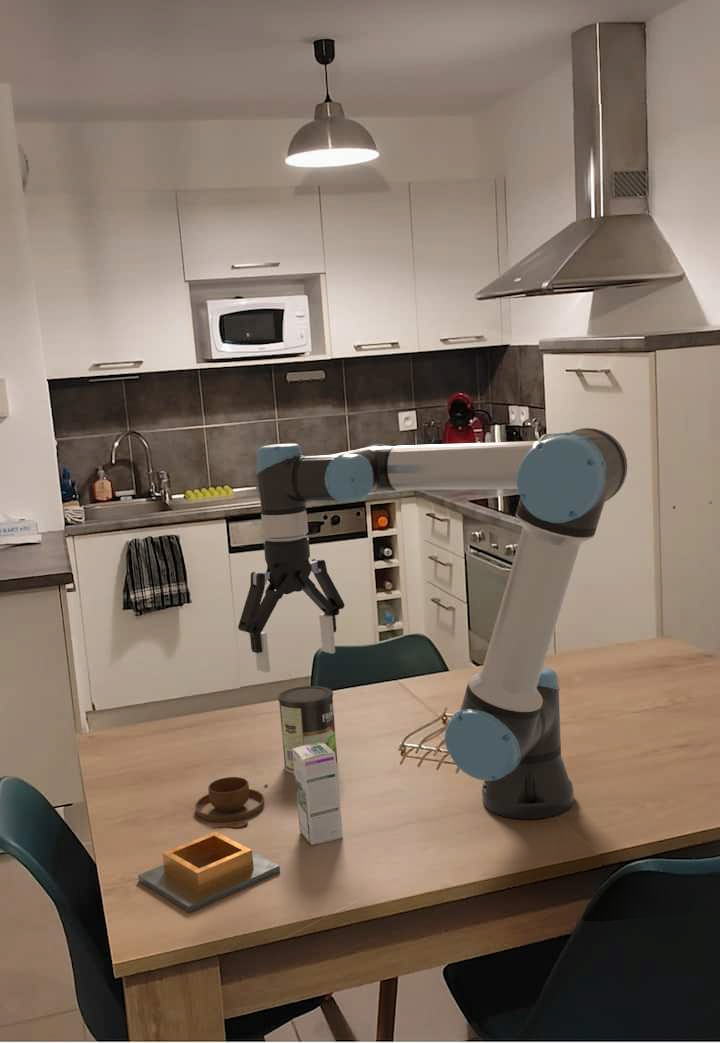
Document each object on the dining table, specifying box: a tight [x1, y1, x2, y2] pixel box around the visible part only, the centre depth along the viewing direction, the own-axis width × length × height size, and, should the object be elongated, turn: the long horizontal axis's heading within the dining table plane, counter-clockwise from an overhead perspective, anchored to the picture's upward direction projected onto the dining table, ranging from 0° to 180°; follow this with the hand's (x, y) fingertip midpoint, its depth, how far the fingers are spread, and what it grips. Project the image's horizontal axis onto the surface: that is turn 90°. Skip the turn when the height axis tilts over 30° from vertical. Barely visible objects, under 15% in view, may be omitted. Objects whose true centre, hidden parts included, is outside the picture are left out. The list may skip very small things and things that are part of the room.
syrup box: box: [292, 742, 344, 846], centre depth 170 cm, size 6×6×14 cm
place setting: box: [194, 776, 269, 830], centre depth 184 cm, size 18×20×6 cm
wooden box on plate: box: [137, 831, 281, 914], centre depth 159 cm, size 14×16×4 cm
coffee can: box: [277, 685, 339, 775], centre depth 200 cm, size 10×10×14 cm
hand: (297, 661), depth 180 cm, fingers open, 13 cm apart
